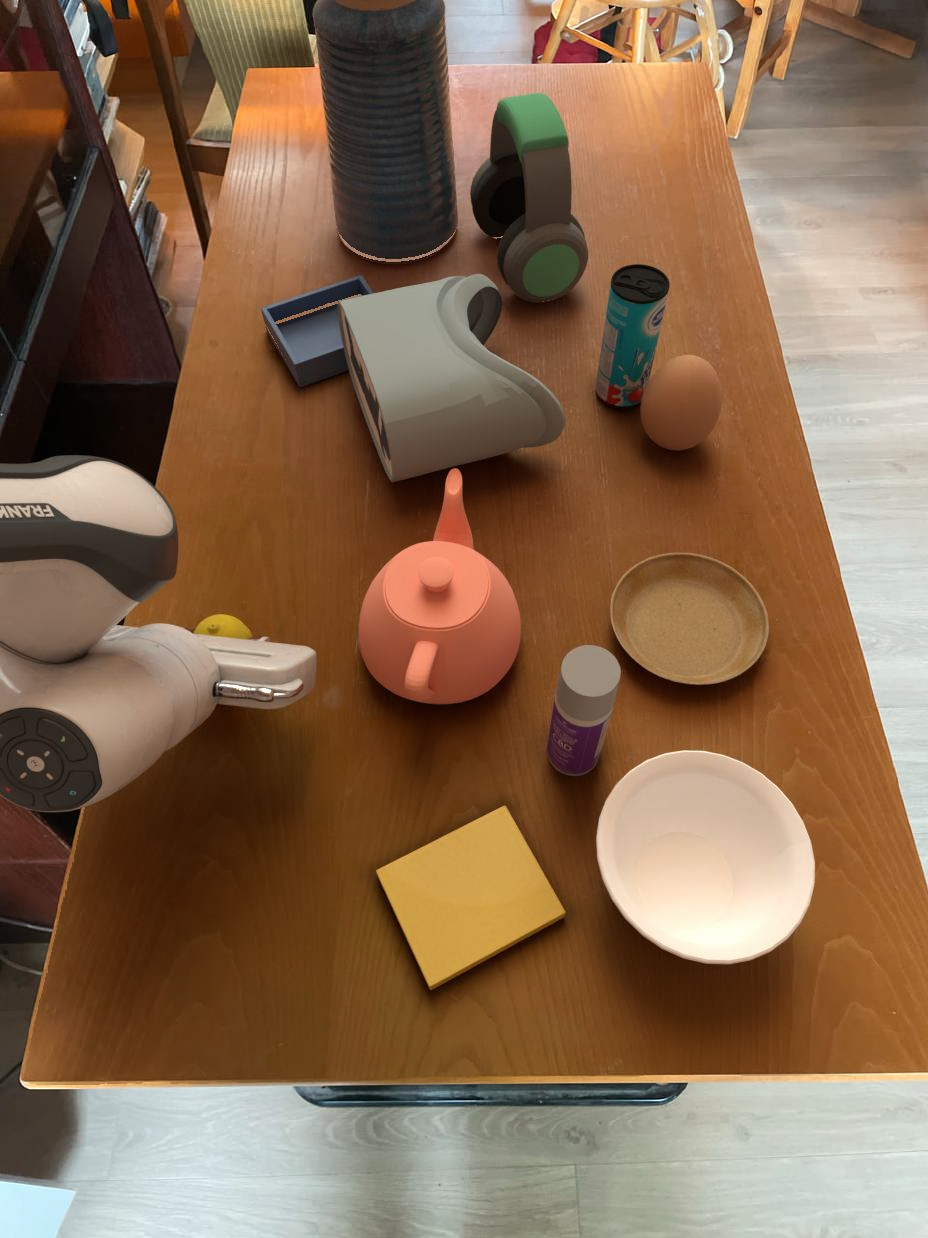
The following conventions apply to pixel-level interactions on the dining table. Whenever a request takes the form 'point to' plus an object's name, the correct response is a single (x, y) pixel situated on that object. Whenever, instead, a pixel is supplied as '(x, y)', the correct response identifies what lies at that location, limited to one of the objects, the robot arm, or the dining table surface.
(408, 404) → the virtual reality goggles
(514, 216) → the headphones
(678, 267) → the dining table surface
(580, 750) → the container
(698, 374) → the egg
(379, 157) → the vase
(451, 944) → the yellow board
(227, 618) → the lemon
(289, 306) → the blue tray
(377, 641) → the teapot
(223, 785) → the dining table surface
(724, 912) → the bowl
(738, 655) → the plant saucer
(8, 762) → the robot arm
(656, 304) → the beverage can
